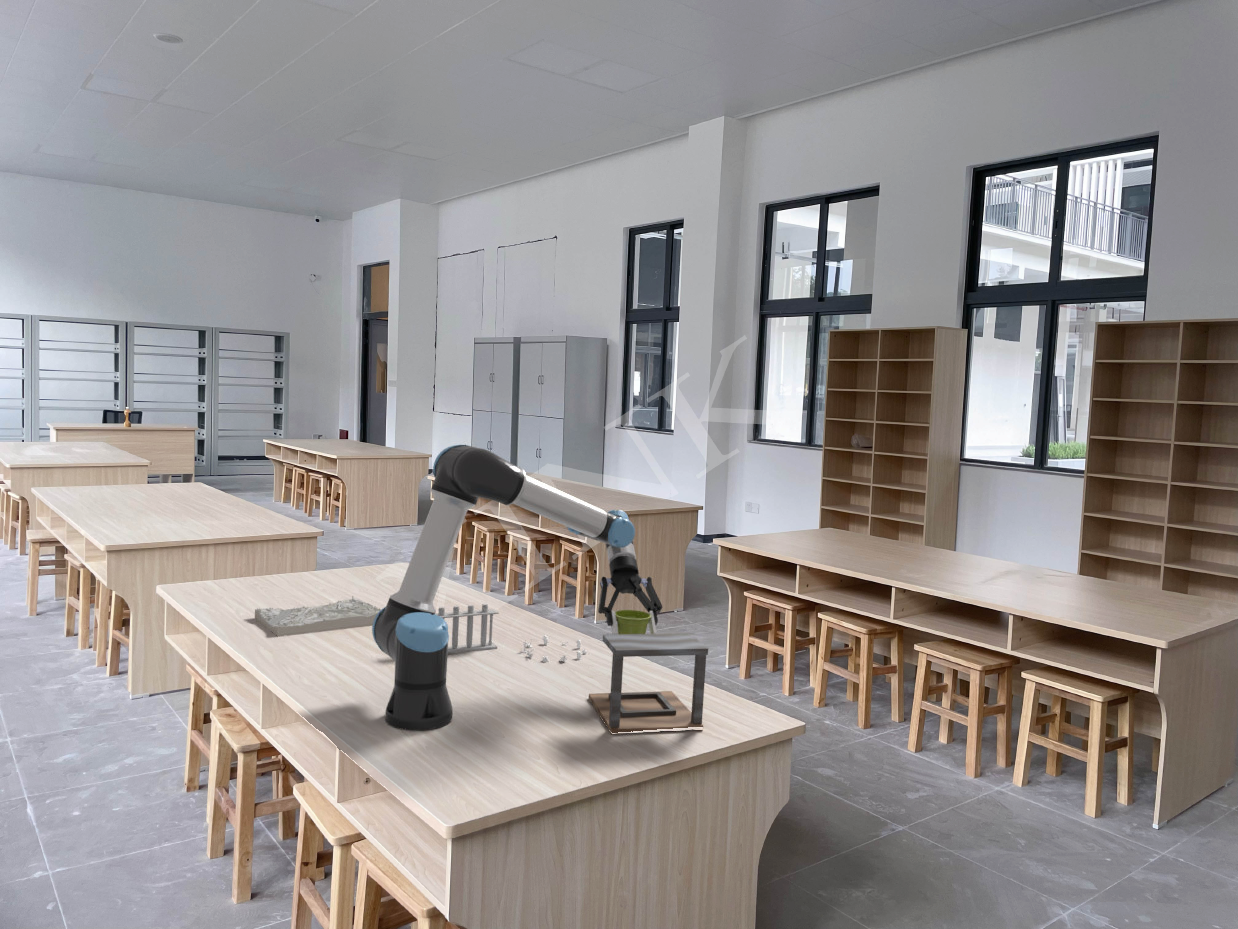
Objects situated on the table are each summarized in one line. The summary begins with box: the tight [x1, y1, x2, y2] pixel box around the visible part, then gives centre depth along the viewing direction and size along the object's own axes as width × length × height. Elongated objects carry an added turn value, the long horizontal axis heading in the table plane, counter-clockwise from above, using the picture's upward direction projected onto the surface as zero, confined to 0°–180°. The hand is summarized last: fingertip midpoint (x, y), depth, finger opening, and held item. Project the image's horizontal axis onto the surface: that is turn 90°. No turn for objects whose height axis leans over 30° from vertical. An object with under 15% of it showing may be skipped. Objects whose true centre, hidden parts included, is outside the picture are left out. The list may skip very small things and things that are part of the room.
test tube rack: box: [435, 603, 500, 655], centre depth 258 cm, size 25×4×13 cm, turn 120°
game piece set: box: [520, 634, 588, 663], centre depth 261 cm, size 19×20×4 cm
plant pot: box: [615, 609, 651, 634], centre depth 227 cm, size 9×9×9 cm
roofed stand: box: [588, 632, 709, 733], centre depth 214 cm, size 24×22×20 cm
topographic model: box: [254, 595, 381, 637], centre depth 282 cm, size 23×34×5 cm
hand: (635, 635), depth 224 cm, fingers closed on plant pot, 9 cm apart
